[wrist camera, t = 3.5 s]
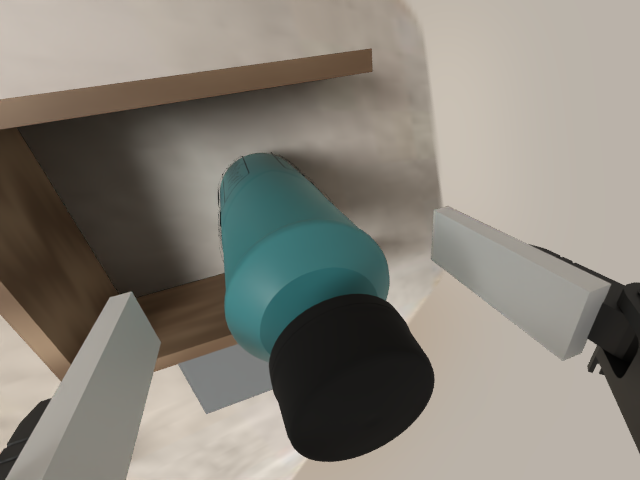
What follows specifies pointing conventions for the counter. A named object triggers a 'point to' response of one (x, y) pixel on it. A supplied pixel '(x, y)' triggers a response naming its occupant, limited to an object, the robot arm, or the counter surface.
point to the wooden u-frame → (69, 244)
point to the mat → (226, 377)
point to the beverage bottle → (317, 313)
